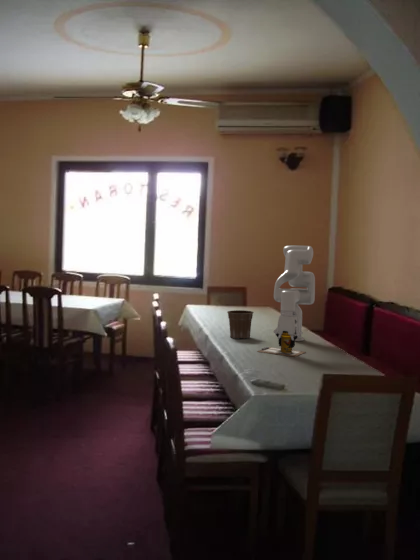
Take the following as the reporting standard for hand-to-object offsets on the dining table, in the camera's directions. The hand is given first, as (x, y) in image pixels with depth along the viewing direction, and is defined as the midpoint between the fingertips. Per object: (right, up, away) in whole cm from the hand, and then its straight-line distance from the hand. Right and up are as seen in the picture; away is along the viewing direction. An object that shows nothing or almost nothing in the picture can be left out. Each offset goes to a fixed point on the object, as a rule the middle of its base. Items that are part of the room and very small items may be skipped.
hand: (286, 346), depth 307 cm
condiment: (-1, -3, +1) cm, 4 cm away
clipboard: (-2, -4, +5) cm, 6 cm away
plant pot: (-23, 0, +48) cm, 53 cm away
